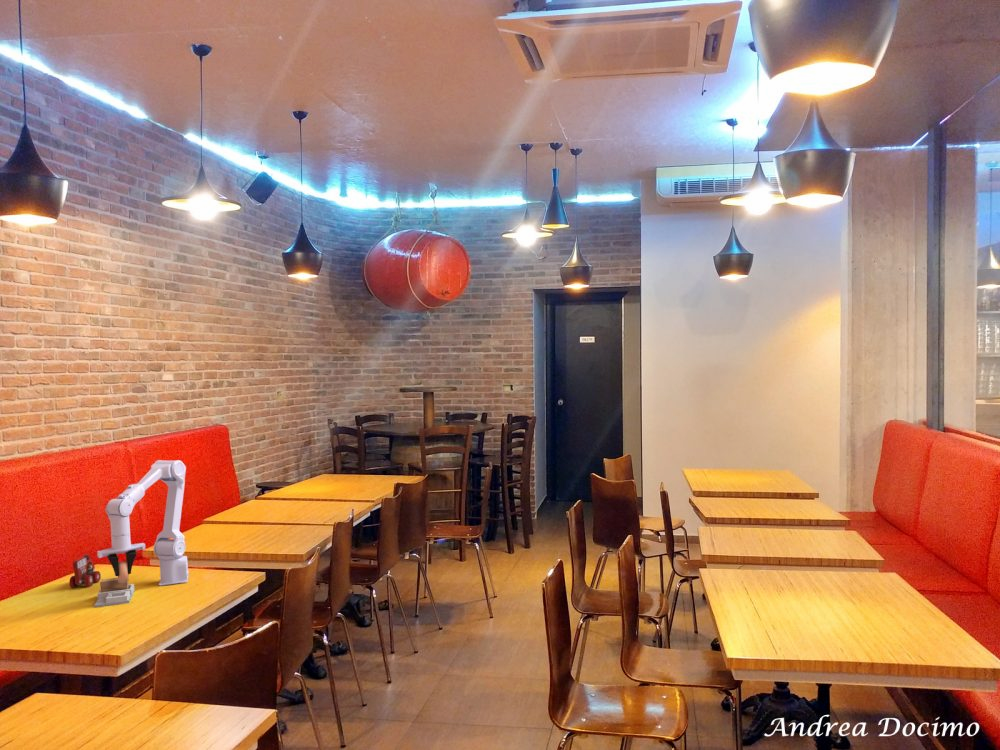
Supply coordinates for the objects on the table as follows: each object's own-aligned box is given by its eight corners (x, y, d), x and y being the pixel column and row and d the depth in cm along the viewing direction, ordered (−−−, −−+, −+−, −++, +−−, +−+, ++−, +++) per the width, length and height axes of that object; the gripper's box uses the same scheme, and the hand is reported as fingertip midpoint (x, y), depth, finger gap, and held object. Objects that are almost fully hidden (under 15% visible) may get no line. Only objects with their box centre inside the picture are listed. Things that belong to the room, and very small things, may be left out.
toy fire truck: (103, 579, 292) (102, 551, 291) (86, 589, 279) (84, 560, 279) (85, 579, 292) (83, 552, 291) (66, 590, 279) (65, 561, 279)
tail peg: (129, 579, 265) (128, 560, 265) (127, 582, 262) (126, 563, 261) (119, 580, 264) (118, 561, 264) (117, 583, 261) (115, 564, 261)
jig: (134, 591, 274) (133, 583, 274) (129, 602, 261) (128, 595, 261) (101, 595, 271) (101, 588, 270) (94, 607, 257) (93, 599, 257)
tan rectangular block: (128, 591, 272) (127, 576, 271) (127, 593, 268) (126, 578, 268) (102, 594, 269) (101, 579, 269) (101, 597, 266) (100, 582, 266)
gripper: (140, 528, 270) (142, 567, 270) (94, 536, 261) (96, 577, 261) (146, 531, 265) (148, 571, 265) (99, 539, 255) (102, 581, 256)
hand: (123, 574), depth 263 cm, fingers closed on tail peg, 3 cm apart
